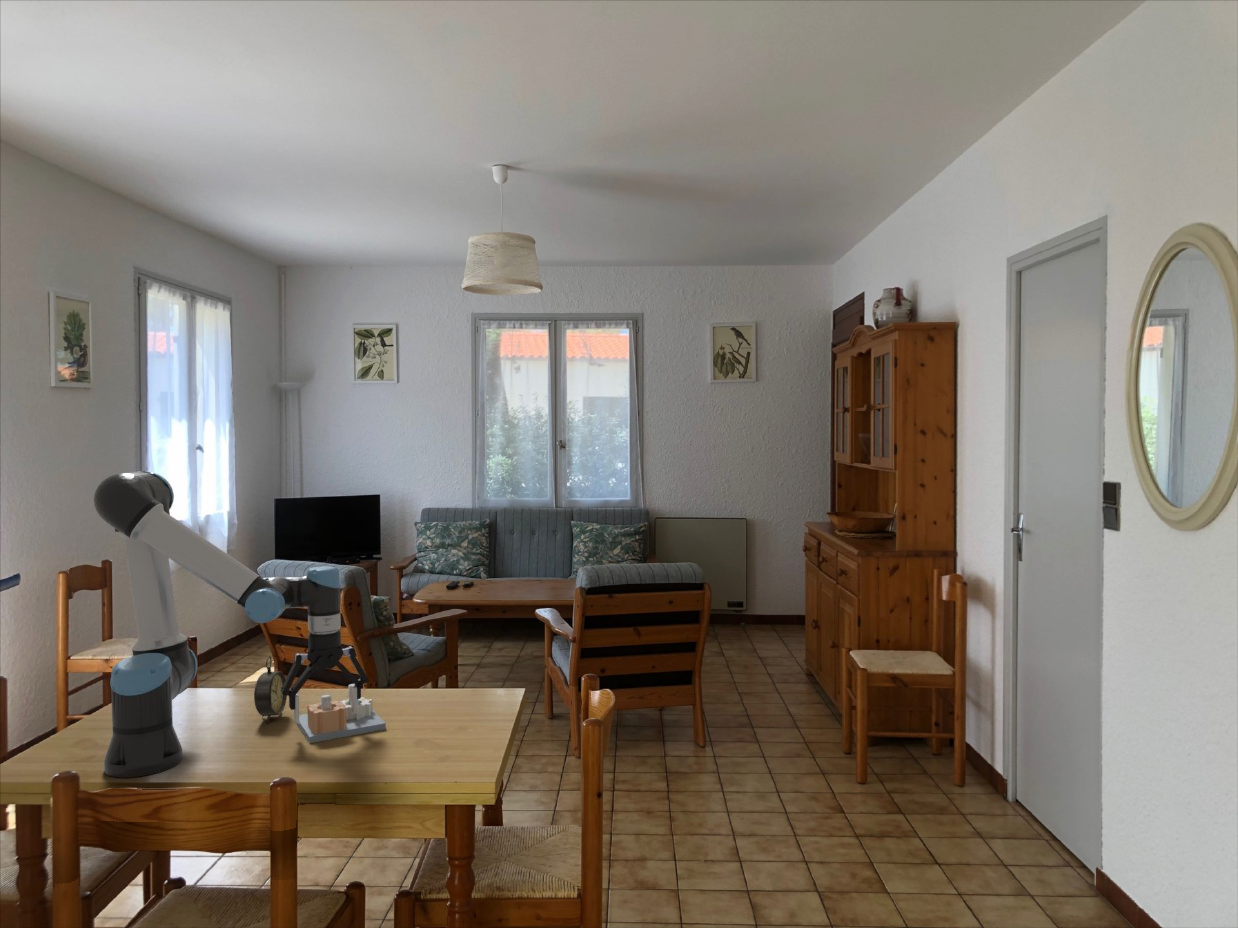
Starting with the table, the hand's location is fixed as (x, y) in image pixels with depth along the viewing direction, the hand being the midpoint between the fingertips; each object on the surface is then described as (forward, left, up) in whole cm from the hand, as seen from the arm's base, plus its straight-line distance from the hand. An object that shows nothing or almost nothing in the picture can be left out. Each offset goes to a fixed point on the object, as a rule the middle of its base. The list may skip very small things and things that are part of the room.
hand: (326, 717), depth 209 cm
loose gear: (0, 0, -2) cm, 2 cm away
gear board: (+4, +4, -4) cm, 7 cm away
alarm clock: (-10, +19, -4) cm, 22 cm away
